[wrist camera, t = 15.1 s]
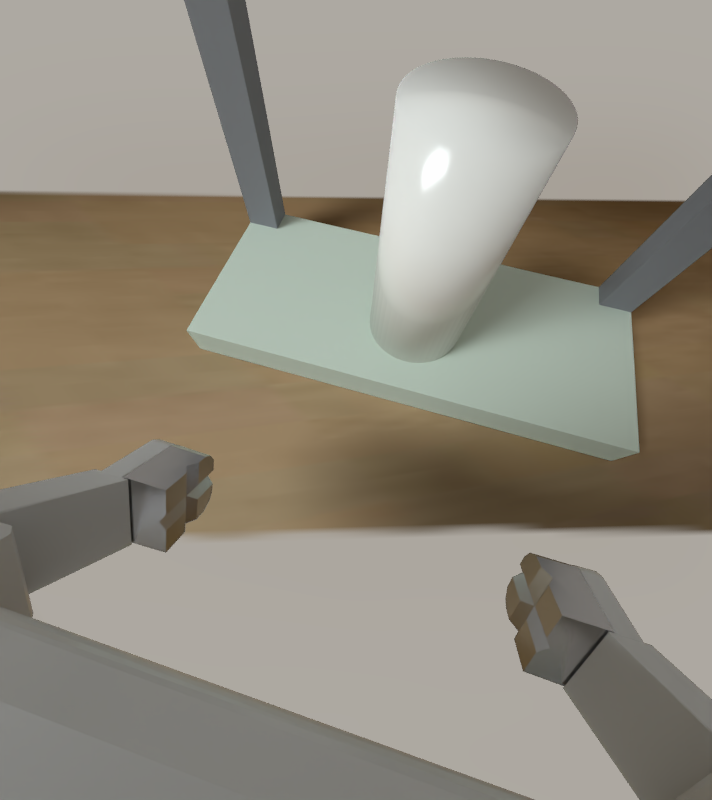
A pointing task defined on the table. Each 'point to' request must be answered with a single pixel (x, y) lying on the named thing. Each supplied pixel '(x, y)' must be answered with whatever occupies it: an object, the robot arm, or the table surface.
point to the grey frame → (354, 281)
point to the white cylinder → (458, 193)
